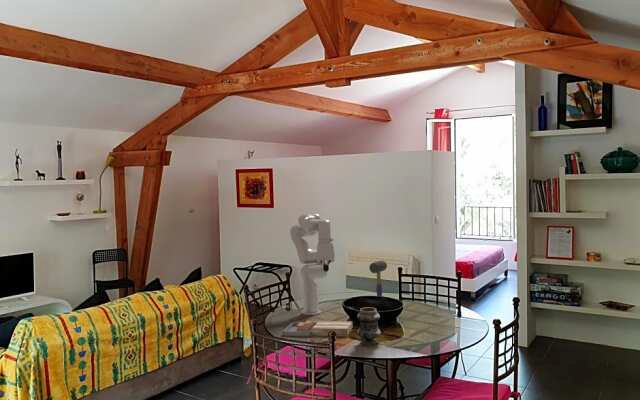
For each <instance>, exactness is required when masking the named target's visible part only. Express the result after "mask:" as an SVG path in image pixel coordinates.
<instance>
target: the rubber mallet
mask: <svg viewBox="0 0 640 400" xmlns="http://www.w3.org/2000/svg"><path fill="white" fill-rule="evenodd" d="M387 265H388V264H387V262H386V261H385V260H377V261H374V262H372V263H370V265H368V267H369V271H370V272H371V274H376V298H377V297H382V298H383V288H382V287H383V286H382V278H381V273H382V272H383V271H385V270H386V269H387V267H388V266H387Z"/></svg>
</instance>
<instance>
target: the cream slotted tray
mask: <svg viewBox="0 0 640 400" xmlns="http://www.w3.org/2000/svg"><path fill="white" fill-rule="evenodd" d="M353 325H354V324H353V321H346V320H345V321H339V320H337V321H334V320H319V321H317V324H316V325H315V326H314V327H313V328H312V335H311V336H312V337H313V336H314V337H315V336H316V337H318V336H319V337H329V336H328V333H329V332H330V331H335V332H336V335H337V336H336V337H348V336H349V335H350V333H351V332H350V331H352V330H353V329H352V328H354V327H353ZM351 329H352V330H351ZM349 332H350V333H349ZM348 334H349V335H348Z"/></svg>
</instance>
